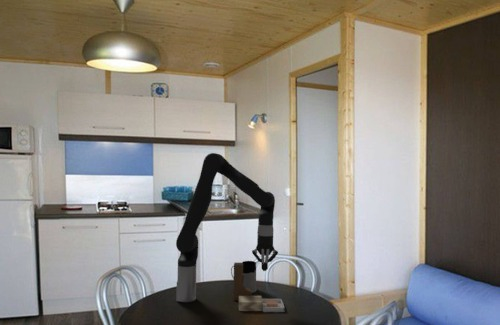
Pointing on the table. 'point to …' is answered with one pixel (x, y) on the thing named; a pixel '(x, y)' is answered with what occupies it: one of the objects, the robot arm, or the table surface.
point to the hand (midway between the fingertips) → (264, 270)
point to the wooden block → (239, 283)
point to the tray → (273, 309)
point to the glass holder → (249, 275)
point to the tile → (271, 304)
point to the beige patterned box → (250, 303)
